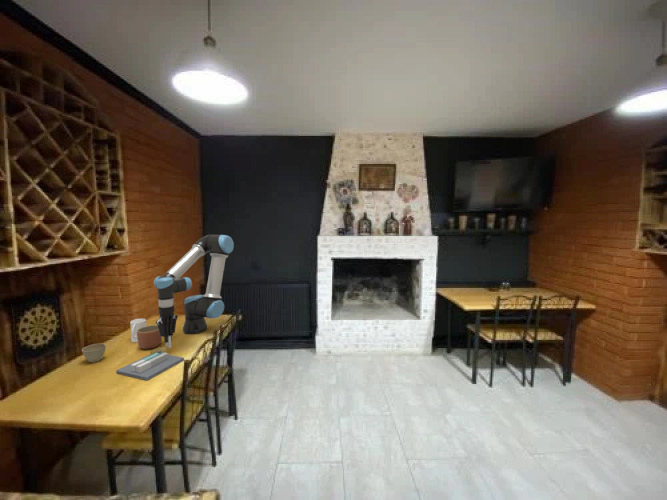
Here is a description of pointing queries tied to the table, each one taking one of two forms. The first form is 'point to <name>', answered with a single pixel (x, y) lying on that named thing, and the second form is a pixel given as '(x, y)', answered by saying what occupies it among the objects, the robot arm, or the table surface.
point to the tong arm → (133, 366)
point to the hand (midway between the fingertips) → (168, 347)
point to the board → (152, 370)
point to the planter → (149, 337)
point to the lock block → (158, 350)
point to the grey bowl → (94, 352)
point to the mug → (136, 328)
